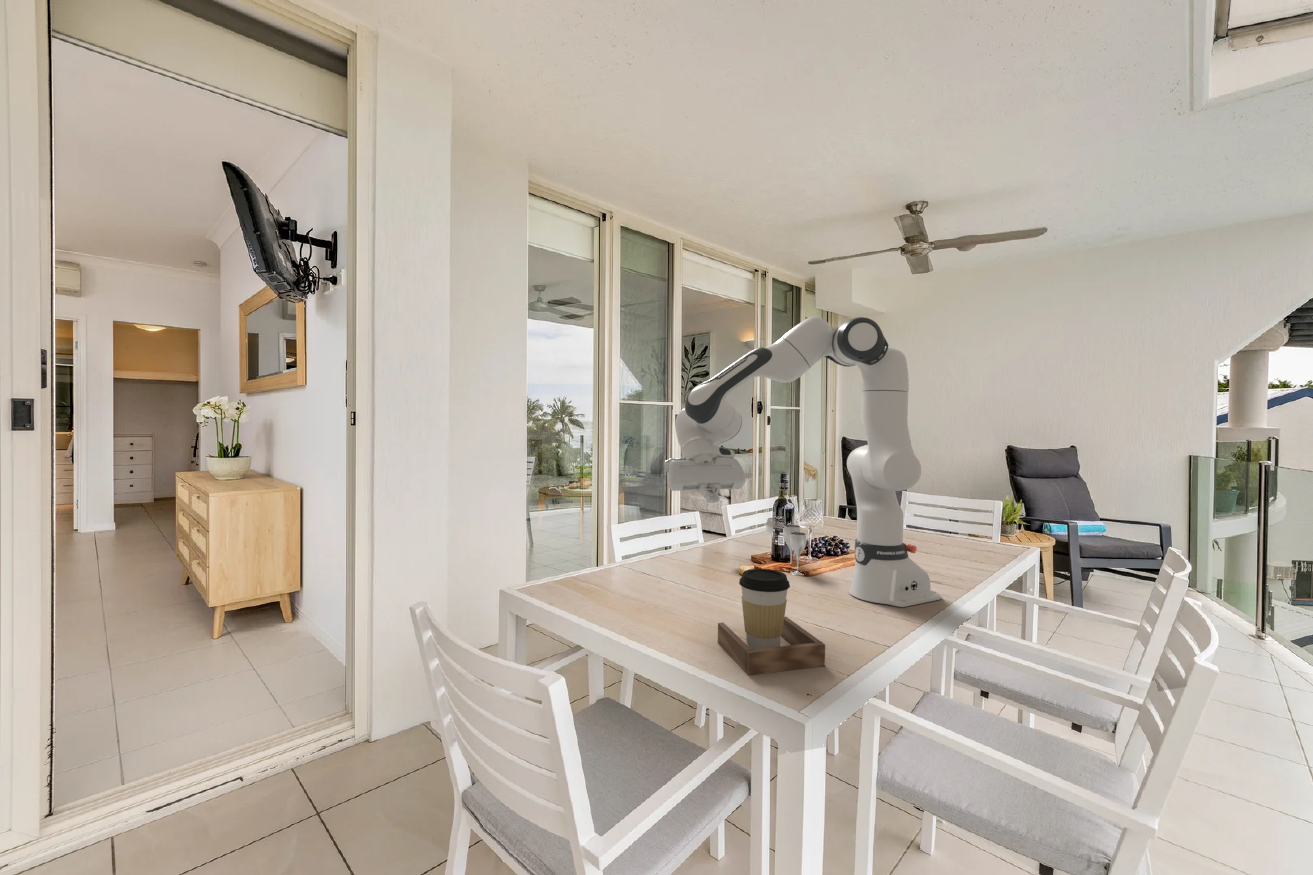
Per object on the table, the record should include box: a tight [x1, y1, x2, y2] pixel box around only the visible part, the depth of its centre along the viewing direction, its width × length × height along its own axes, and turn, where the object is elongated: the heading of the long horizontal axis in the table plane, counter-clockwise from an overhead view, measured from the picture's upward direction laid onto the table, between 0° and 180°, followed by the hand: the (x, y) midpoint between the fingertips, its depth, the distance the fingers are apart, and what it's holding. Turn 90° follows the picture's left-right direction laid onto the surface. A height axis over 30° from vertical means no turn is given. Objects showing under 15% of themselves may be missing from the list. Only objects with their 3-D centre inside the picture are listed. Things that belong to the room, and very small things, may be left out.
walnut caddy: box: [717, 616, 826, 676], centre depth 107 cm, size 15×15×4 cm
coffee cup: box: [738, 568, 791, 650], centre depth 109 cm, size 10×10×15 cm
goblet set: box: [765, 517, 807, 576], centre depth 174 cm, size 28×6×13 cm, turn 5°
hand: (713, 501), depth 136 cm, fingers closed
